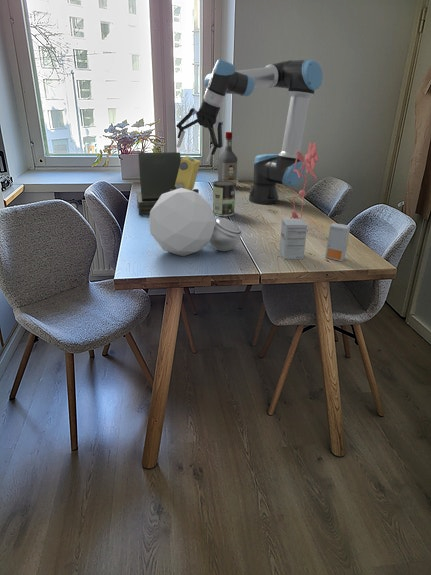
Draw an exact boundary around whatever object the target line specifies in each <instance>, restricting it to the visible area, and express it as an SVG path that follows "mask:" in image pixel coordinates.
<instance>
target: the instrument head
mask: <svg viewBox="0 0 431 575" xmlns="http://www.w3.org/2000/svg"><path fill="white" fill-rule="evenodd" d="M200 164H201V160H199V159H197V158H195V157H194V156H189V155H186V156H184V157H181V162H180V166H179V171H178V175H177V179H176V183H182V184H183V188H184V189H187V190H193V189H195V183H196V181H197V178H198V174H199V168H200ZM176 183H175V187H176Z"/></svg>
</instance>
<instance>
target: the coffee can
mask: <svg viewBox="0 0 431 575" xmlns="http://www.w3.org/2000/svg"><path fill="white" fill-rule="evenodd" d="M235 185H236V186H237V182H236V183H235V182H232V181H218V180H216V181H213V182H212V211H213V214H214V216H219V217H230V216H234V215H235V203H236V202H235V199H236V187H235Z"/></svg>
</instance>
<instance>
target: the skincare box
mask: <svg viewBox="0 0 431 575" xmlns="http://www.w3.org/2000/svg"><path fill="white" fill-rule="evenodd" d="M350 231H351V225H348V224H343V223H336V222H333V223H331V225H330V227H329V231H328V238H327V244H326V250H325V258H326V259H331V260H334V261H335V260H336V261H338V262H343V260H344V259H345V258H346V254H347V249H348V248H347V247H348V241H349V235H350Z"/></svg>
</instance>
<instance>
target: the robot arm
mask: <svg viewBox="0 0 431 575" xmlns="http://www.w3.org/2000/svg"><path fill="white" fill-rule="evenodd" d="M323 75H324V74H323V68H322V66H321V64H320V63H319V62H318V61H317V60H312V59H298V60H297V59H295V60H292V59H291V60H290V59H289V60H285V61H280V62H276V63H270V64H267V65H266V66H265V67H257V68H256V67H255V68H250V69H242V70H241V69H239V70H236V66H235V64H234V63H232V62H229V61H227V60H225V59H221V58H219V59H217V61H216V62H215V65H214V66H213V69H212V72H210V73H208V74H207V75H206V76H205V77H204V87H205V89H206V90H205V92H204V95H203V100H202V101H201V104H200V107H199V109H198V110H196V109H195V107H191V108H190V110H189V112H188V113H187V114H186V115H185V116H184V117H183V118H182V119H181V120H180V121H179V122H178V123H177V124H176V128H177V129H178V134H177V139H178V142H177V144H176V148H180V147H181V146H182V143H183V139H184V136H185V134H186V131H185V130H186V129H188V128H191V127H192V126H194V125H196V124H198V125H199V126H201V127H203V128H205V129H208V131H209V134H210V137H211V138H210V139H211V142H212V144H213V145H211V148H210V149H209V152H208V155H207V158H206V160H205V162H207V163H209V162H210V159H211V157H212V156H214V155H215V154H216V152H217V148H218V149H221V148H222V147H223V129H222V128H223V125H224V122H223V121H219V120H217V117H218V115H219V112H220V109H221V107H220V106H222V105H223V102H224V100H225V97H226V94H230V95H238V96H239V95H240V96H242V97H248V96H250V95H251V94H252V93H253V91H254V89H255V88H260V87H267V88H278V89H279V88H281V89H287V93H288V94H289V96H290V98H289V104H288V112H287V116H286V117H287V118H286V122H285V127H284V135H283V140H282V146H281V151H280V152H279V153H278V154H277V153H266V154H265V153H264V154H263V153H262V154H257V155H256V156H255V157H254V164H253V165H254V166H253V183H252V184H253V185H252V187H251V190H250V192H249V196H248V201H250V203H254V204H260V205H261V204H262V205H273V204H277V203H278V202H279V193H278V188H277V184H278V185H283V186H285V187H295V186H297V185H298V184H299V183H301V181H302V180H303V178H304V177H303V176H302V175H304V176H305V173H306V167H304V170H303V172H302V175H301V177H300V179H299V177H298V173H297V172H296V171H293V170H294V165H295V161H296V157H297V152H298V151H300V152H301V148H302V143H303V137H304V132H305V127H306V121H307V114H308V109H309V104H310V100H311V98H312V97H313V96H314V95H315V91H316V90H318V89H320V86H322V83H323V79H324V78H323ZM194 115H196V119H194V120H192V121H191V122H189V123H187V124H185V123H186V122H187V121H188V120H189V119H190V118H191V117H192V116H194ZM184 124H185V125H184ZM183 125H184V126H183ZM214 125H216V127H217V137H216V133H215V129H214ZM303 163H304V162H303ZM303 163H301V162H300V160H299V159H297V162H296V166H295V170H299V169H300V167H301V166H302V165H303ZM303 166H304V165H303ZM302 169H303V167H302V168H301V169H300V171H299V172H300V173H301V171H302ZM299 176H300V174H299Z"/></svg>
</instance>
